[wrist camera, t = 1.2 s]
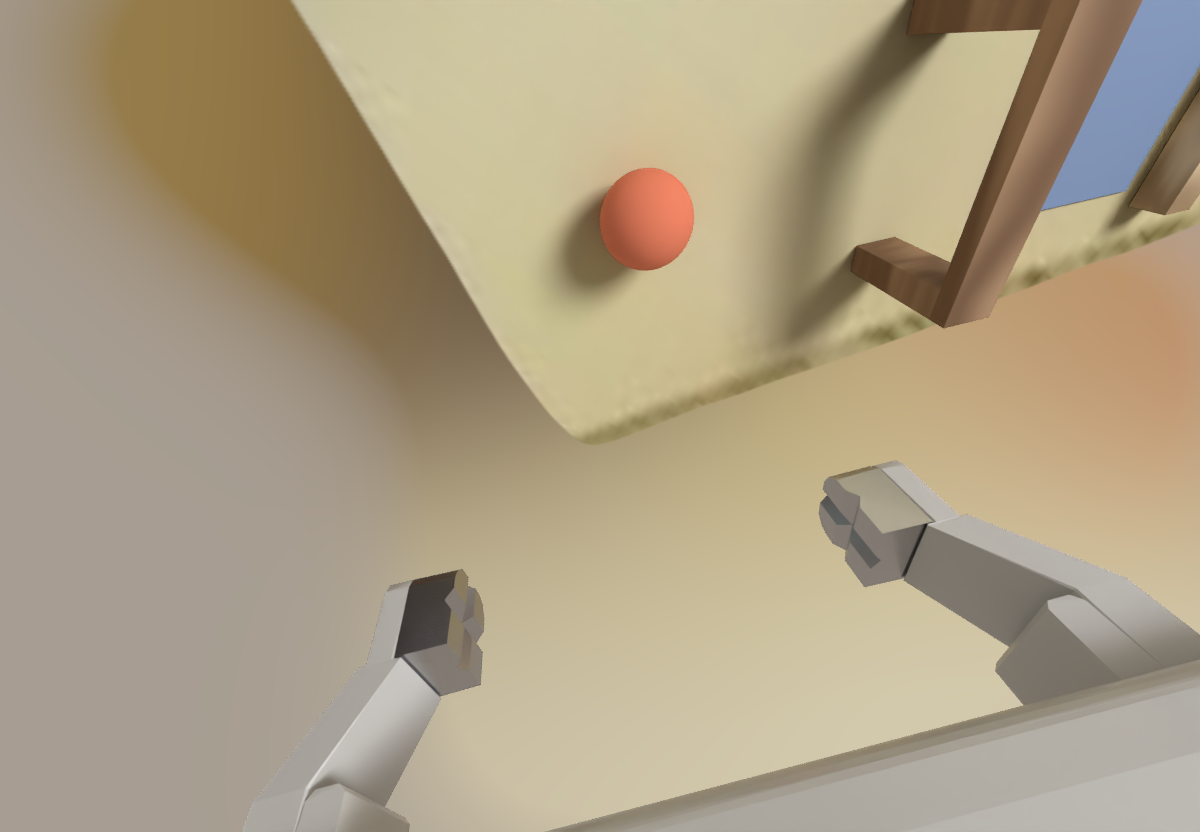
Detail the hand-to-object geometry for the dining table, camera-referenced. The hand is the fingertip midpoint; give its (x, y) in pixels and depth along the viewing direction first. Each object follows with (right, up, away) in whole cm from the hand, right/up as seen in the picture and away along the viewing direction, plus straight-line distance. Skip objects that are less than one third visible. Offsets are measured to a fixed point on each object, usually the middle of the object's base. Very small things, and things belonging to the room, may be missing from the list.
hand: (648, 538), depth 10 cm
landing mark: (+32, +23, +20) cm, 44 cm away
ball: (+2, +14, +16) cm, 22 cm away
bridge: (+19, +20, +19) cm, 33 cm away
